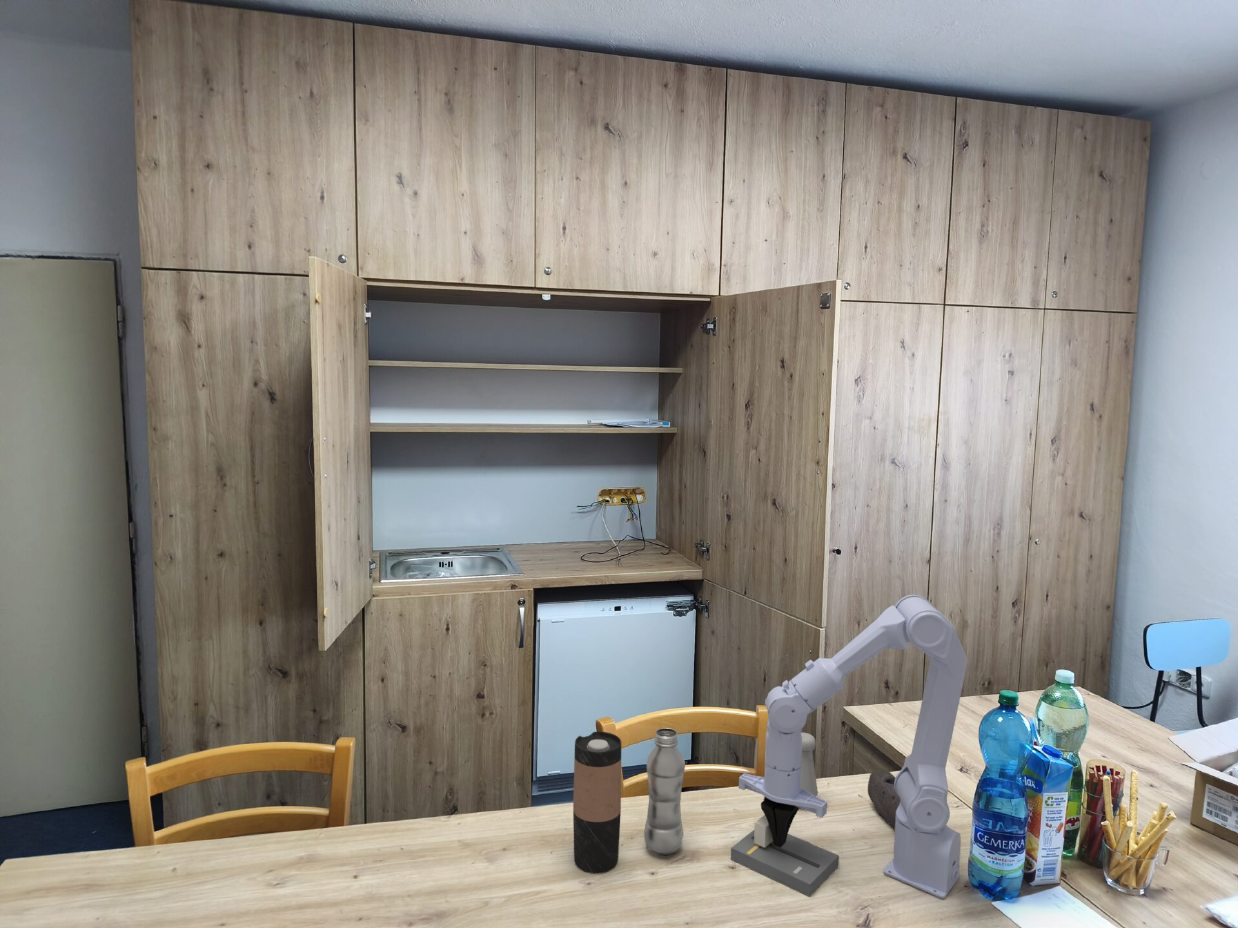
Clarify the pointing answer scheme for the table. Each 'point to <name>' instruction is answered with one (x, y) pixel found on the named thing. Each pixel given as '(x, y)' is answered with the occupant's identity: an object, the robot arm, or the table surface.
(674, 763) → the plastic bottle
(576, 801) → the travel mug
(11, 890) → the table surface
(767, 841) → the fader tab
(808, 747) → the salt shaker
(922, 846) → the robot arm
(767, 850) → the console board
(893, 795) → the perforated stone tool
